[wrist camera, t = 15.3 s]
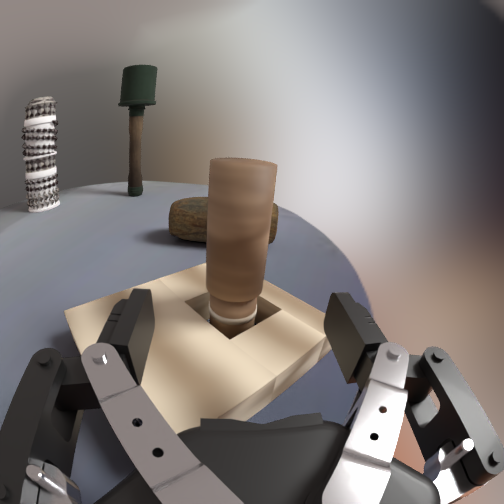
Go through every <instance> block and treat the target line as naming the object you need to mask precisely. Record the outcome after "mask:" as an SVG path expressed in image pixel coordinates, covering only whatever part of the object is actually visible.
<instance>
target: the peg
mask: <svg viewBox="0 0 504 504" xmlns="http://www.w3.org/2000/svg"><path fill="white" fill-rule="evenodd" d="M276 173H277V165H276V164H274V163H271V162H267V161H261V160H255V159H246V158H245V159H244V158H215V159H211V160H210V174H209V192H208V216H207V249H206V288H207V290H208V292H209V293H210V301H209V313H210V324H211V325H212V326H213V327H215V328H216V329H217V330H218V331H219V332H221V333H222V334H223V335H224V336H226V337H227V338H228V339H229V340H230V339H232V338H234V337H236V336H237V335H239V334H241V333H243V332H245V331H246V330H248V329H250V328H252V327H253V326H254V321H255V316H256V313H257V297H258V296H259V295H260V294H261V292H262V289H263V281H264V273H265V266H266V258H267V250H268V241H269V233H270V225H271V217H272V208H273V200H274V191H275V182H276Z"/></svg>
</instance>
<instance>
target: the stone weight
mask: <svg viewBox="0 0 504 504" xmlns="http://www.w3.org/2000/svg"><path fill="white" fill-rule="evenodd" d="M207 216H208V197H192V198H185V199H181V200H178V201H175V202H174V203H173V204H172V205H171V208H170V213H169V232H170V234H171V235H172V236H177V237H179V238H181V239H184V240H191V241H198V242H207ZM277 223H278V206H277V205H276V204H275V203H273V208H272V217H271V225H270V233H269V241H268V244H270V243H272V242H273V241H274V239H275V236H276V232H277Z"/></svg>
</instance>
